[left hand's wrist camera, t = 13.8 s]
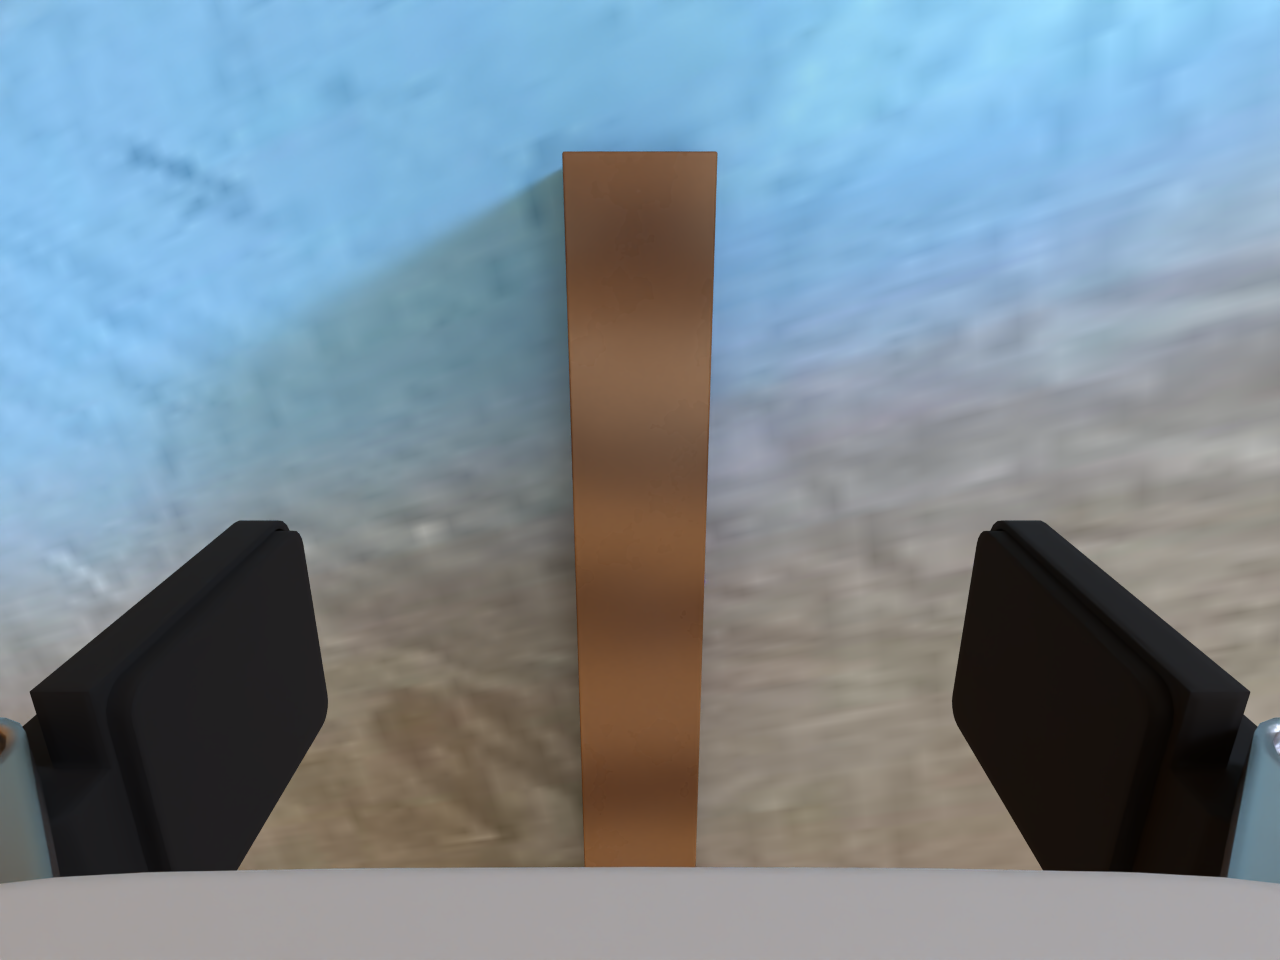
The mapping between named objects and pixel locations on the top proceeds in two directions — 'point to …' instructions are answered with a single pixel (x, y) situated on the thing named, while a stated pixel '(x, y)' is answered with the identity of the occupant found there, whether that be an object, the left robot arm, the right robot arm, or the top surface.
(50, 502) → the top surface
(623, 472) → the bar
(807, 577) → the top surface
